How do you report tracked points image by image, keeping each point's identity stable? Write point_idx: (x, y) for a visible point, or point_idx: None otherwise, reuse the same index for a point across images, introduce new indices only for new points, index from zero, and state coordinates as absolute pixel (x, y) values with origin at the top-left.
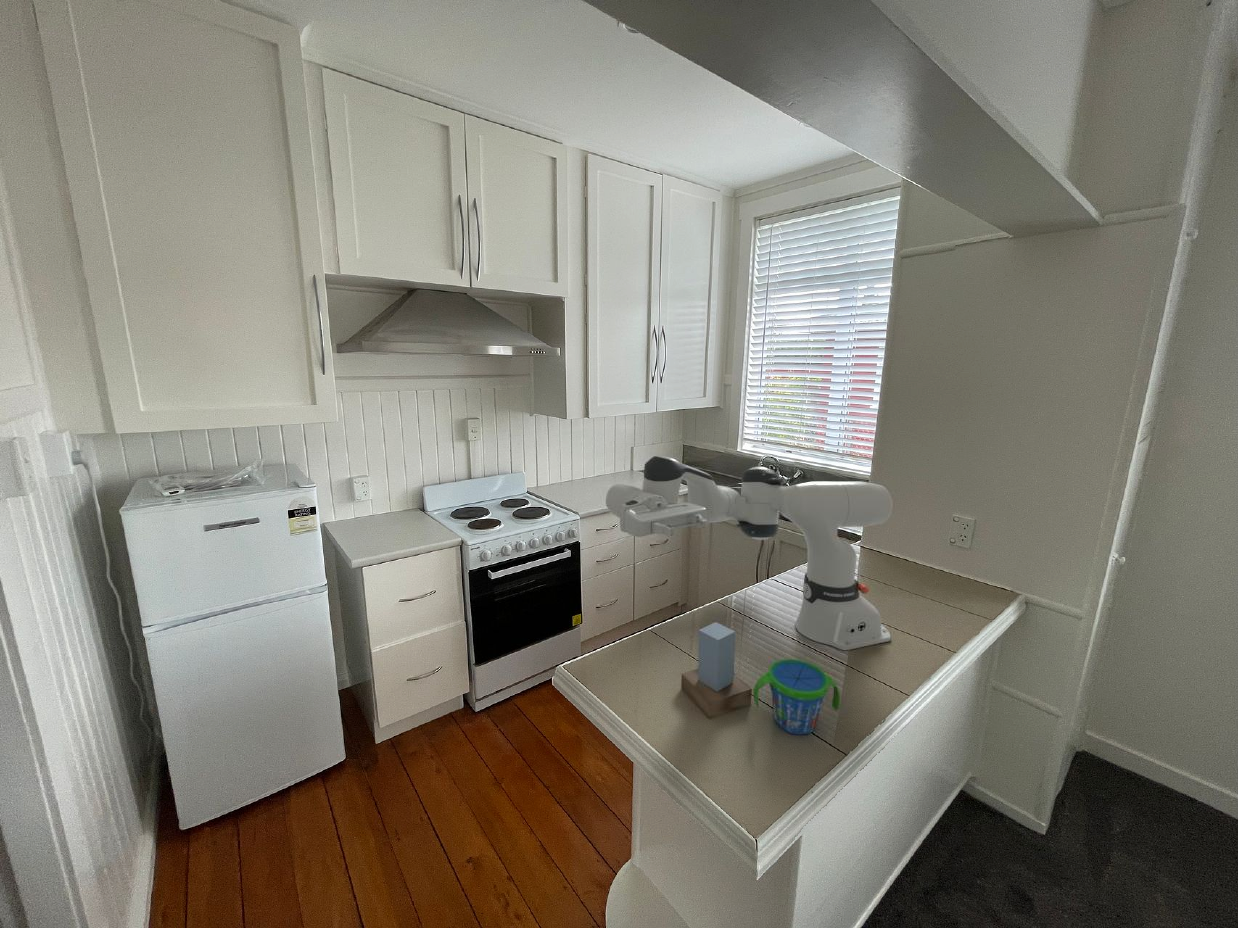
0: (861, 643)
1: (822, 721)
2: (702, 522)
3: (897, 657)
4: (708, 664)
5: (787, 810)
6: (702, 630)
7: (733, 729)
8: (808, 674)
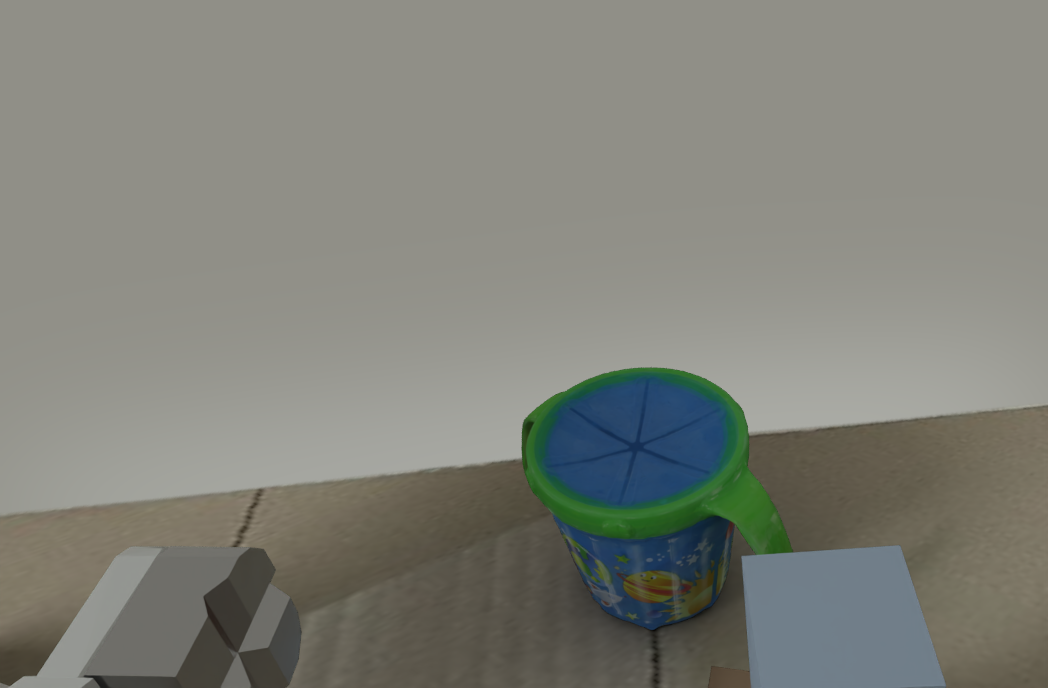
0: (4, 684)
1: None
2: (263, 549)
3: (37, 594)
4: None
5: (952, 414)
6: (925, 666)
7: None
8: (585, 438)
